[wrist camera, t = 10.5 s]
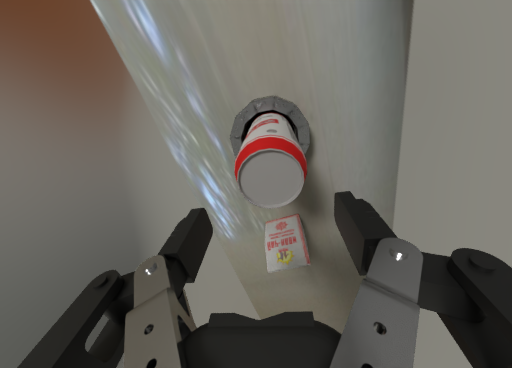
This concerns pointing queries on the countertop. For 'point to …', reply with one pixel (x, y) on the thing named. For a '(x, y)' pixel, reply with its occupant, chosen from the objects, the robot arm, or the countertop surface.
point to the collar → (266, 106)
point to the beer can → (270, 163)
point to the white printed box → (286, 244)
